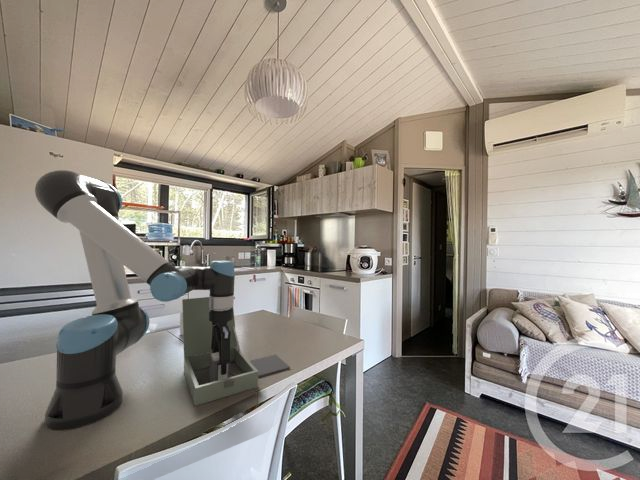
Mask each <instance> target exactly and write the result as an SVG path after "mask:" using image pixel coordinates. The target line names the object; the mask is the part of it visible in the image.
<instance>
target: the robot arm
mask: <svg viewBox="0 0 640 480" xmlns="http://www.w3.org/2000/svg"><path fill="white" fill-rule="evenodd" d="M34 192H35V193H34V195H35V197H36V199H37V201H38V203H39V204H40V205H41V207H43V209H45V210H46V211H47V212H48V213H49V214H50V215H52V217H54V218H55V219H57V220H58V221H60V222H62V223H64V224H68V223H70V224H71V225H72V226H73V227H75V228H76V229H77V230H79V236H80V240H81V244H82V248H83V252H84V258H85V262H86V265H87V269H88V274H89V279H90V282H91V283H90V284H91V287H92V291H93V295H94V299H95V304H96V307H94V308H93V310H92V311H91V315H88V316H86V317H80V318H77V319H75V320H72V321H70V322H68V323H66V324H65V325H63V326H62V327H61V328H60V329H59V331H58V334H57V335H58V337H57V341H56V343H55V346H56V380H55V381H56V383H55V384H56V385H55V386H56V387H55V389H54V392H53V395H52V397H51V399H50V401H49V404H48V406H47V407H46V408H47V409H46V410H45V414H44V416H45V417H44V425H46V426H47V427H48V428H47V427H46V426H45V427H46V428H47V429H49V428H50V430H53V429H54V430H53V431H62V430H63V431H65V430H66V431H67V430H72V429H77V428H81V427H84V426H88V425H91V424H93V423H95V422H97V421H100V420H101V419H104V418H105V417H107V416H110V415H111V414H112V413H113V412H115V411H116V410H117V409H118V408H119V407H120V406H121V405H122V403H123V395H124V394H123V389H122V386H121V384H120V381H119V379H118V376H117V374H116V373H117V372H116V365H117V359H116V358H117V355H119V354H120V353H122V352H123V351H125V350H127V349H128V348H129V347H131V346H133V345H136V343H137V342H139V340H141V339H142V338H143V337H144V336H145V335H146V333H147V331H148V329H149V327H150V317H149V314H148V312H147V311H146V310H145V309H143V308H142V307H140V304H139V301H138V299H137V298H134V297H132V295H131V292H130V291H131V290H130V286H129V283H128V279H127V275H126V270H125V268H127V269H128V270H129V271H131V272H132V273H133V274H135V275H136V276H137V277H139V279H141V280H142V281H144V282H145V283H146V284H147V285H149V291H150V294H151V295H152V297H153V298H154V299H155V300H157V301H159V302H162V303H163V302H165V303H167V302H171V301H175V300H178V299H180V298H181V297H183V296H184V295H187V294H188V293H190V292H192V291H209V296H208V297H209V308H211V309H210V310H209V321H210V322H212V343H211V349H212V352H213V353H216V352H219V363H217V365H218V380H222V379H225V378H227V371H228V363H230V364H231V362H230V335H231V332H230V331H229V327H228V326H227V322H228V321H231V320H232V319H233V310H234V300H235V299H236V297H235V296H234V295H235V276H236V274H235V263H234V262H233V261H232V260H212V261H211V262H210V265H209V266H186V265H182V266H175V265H174V264H172V263H171V262H169V261H168V260H167V259H166V258H164V256H162V255H161V253H159V252H158V251H156V250H155V249H153V248H152V247H151V246H150V245H148V243H146V242H145V241H143V240H142V239H141V238H140V237H139V236H138V235H136V234H135V233H134V232H132V231H131V230H130V229H129V228H128V227H126V226H125V225H124V224H123V223H121V222H120V218H119V212H120V210H121V209H122V206H123V199H122V195H121V193H120V192H119V190H118V189H116V187H114V186H113V185H112V184H109V183H108V182H106V181H103V180H102V179H99V178H93V177H90V176H86V175H84V174H80V173H78V172H75V171H71V170H64V169H63V170H53V171H50V172H48V173H45V174H44V175H42V176H40V177H39V179H38V180H37V182H36V184H35V187H34ZM232 307H233V308H232Z"/></svg>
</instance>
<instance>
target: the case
mask: <svg viewBox="0 0 640 480" xmlns="http://www.w3.org/2000/svg"><path fill="white" fill-rule="evenodd" d="M181 301H182V303H181V304H182V305H181V306H182V310H183V336H182V337H183V372H184V373H183V374H184V377H185V380H186V383H187V385H188V389H189V392H190V394H191V398H192V402H193V403H194V404H193V405H194V406H195V407H196V406H198V405H199V406H200V405H203V404H205V403H209V402H212V401H215V400H218V399H222V398H225V397H228V396H231V395H236V394H238V393H243V392H246V391H249V390H251V389H255V388H258V387H259V378H258V370H257V369H256V368H255V367H254V366H253V365H252V363H251V362H250V361H251V360H249V359H248V358H247V356H245V354H244V353H243V352H242V351H241V348H240V347H241V346H240V342H239V340H238V335H237V331H236V322H235V321H236V320H235V311H234V306H233V307H232V308H233V319H232V320H231V321H228V322H227V326H228V327H229V331H230V332H231V335H230V363H231V362H235V363H236V365H237V366H238V367H239V369H240V370H241V371H242V373H240V374H238V375H234V376H229V378H225V379H222V380H218V381H214V382H206V383H204V384H200V385H199V382H198V380H197V377H196V375H195V372H194V371H198V370H202V369H207V368H210V356H211V353H213V352H212V349H211V343H212V322H210V321H209V310H210V309H211V308H209V296H205V297H195V298H185V299H181Z"/></svg>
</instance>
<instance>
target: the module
mask: <svg viewBox="0 0 640 480" xmlns="http://www.w3.org/2000/svg"><path fill="white" fill-rule="evenodd" d="M217 363H219V352H216V353H211V356H210V367H209V374H208V375H209V376H208V377H209V379H210V381H211V382H214V381H218V365H217ZM230 364H231V362H230V363H228V371H227V378H229V377H230Z"/></svg>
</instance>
